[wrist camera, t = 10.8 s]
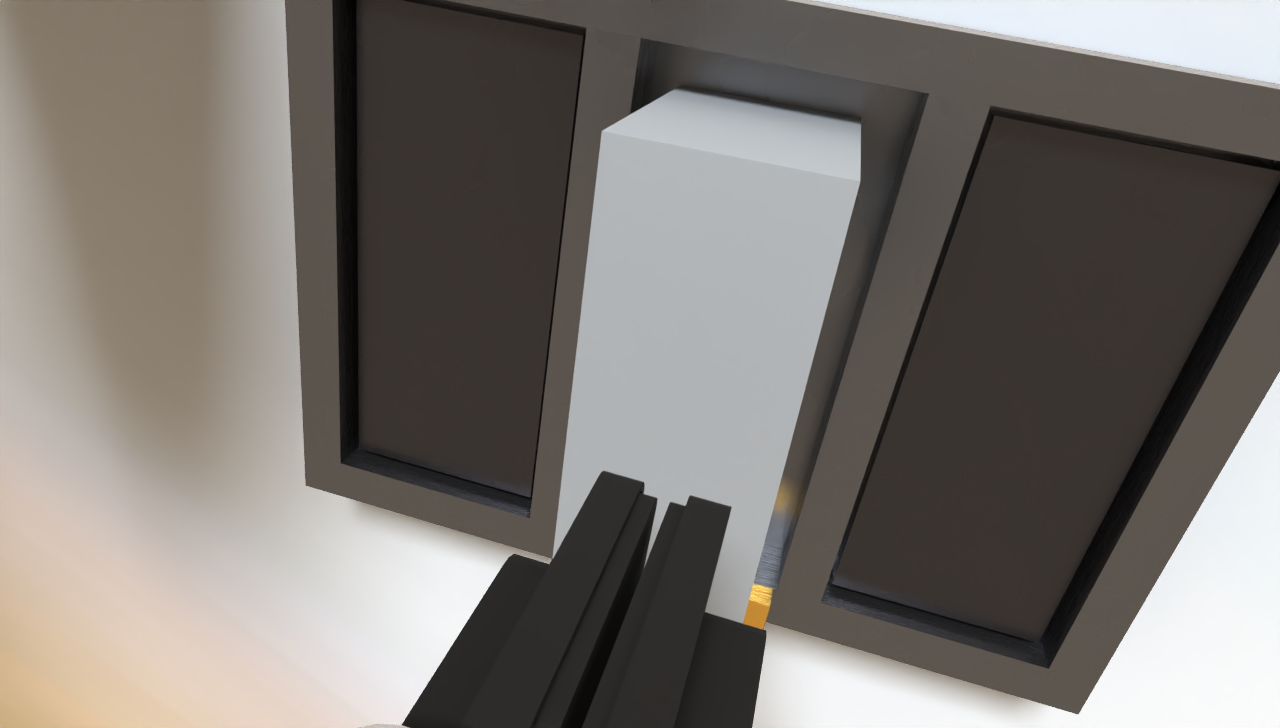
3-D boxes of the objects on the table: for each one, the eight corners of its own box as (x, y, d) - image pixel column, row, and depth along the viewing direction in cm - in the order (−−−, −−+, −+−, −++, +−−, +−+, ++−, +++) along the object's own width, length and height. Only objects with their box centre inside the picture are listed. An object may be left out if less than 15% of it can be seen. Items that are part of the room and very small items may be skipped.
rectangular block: (681, 84, 16) (601, 130, 11) (861, 118, 15) (860, 181, 10) (619, 482, 20) (543, 639, 15) (758, 518, 20) (723, 693, 15)
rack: (351, -83, 17) (259, -95, 14) (1347, 97, 14) (1454, 122, 11) (355, 440, 23) (291, 498, 20) (1056, 639, 20) (1085, 736, 17)
